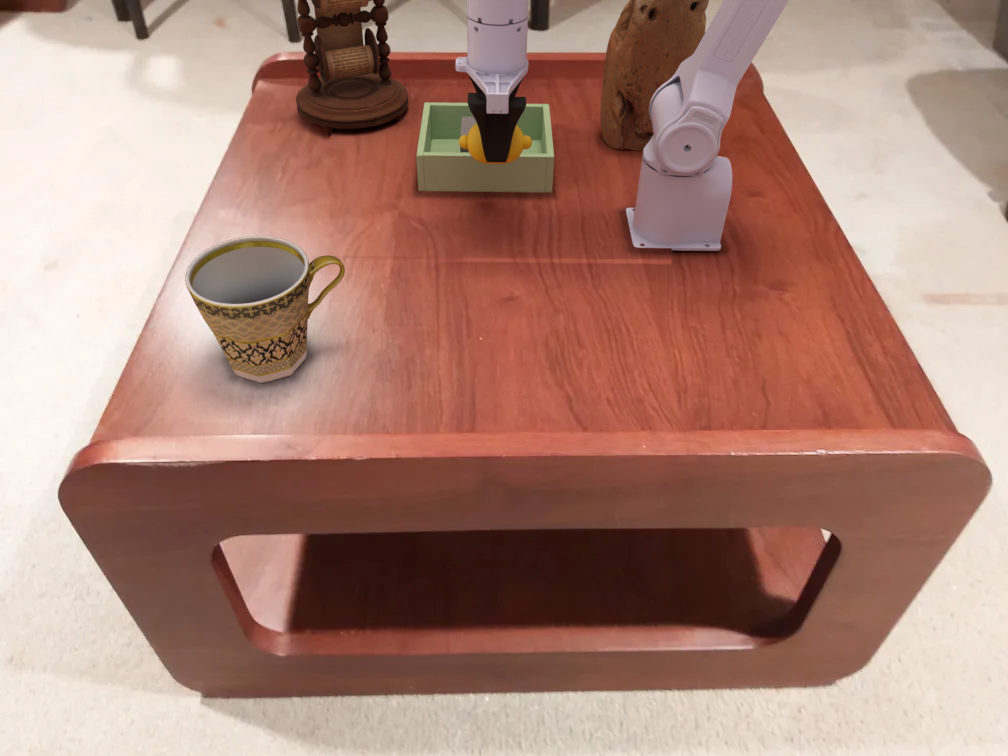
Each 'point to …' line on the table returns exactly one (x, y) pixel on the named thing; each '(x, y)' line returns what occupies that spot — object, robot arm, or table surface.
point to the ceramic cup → (258, 302)
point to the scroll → (347, 67)
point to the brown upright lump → (645, 64)
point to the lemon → (476, 148)
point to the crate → (462, 172)
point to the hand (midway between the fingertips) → (496, 148)
